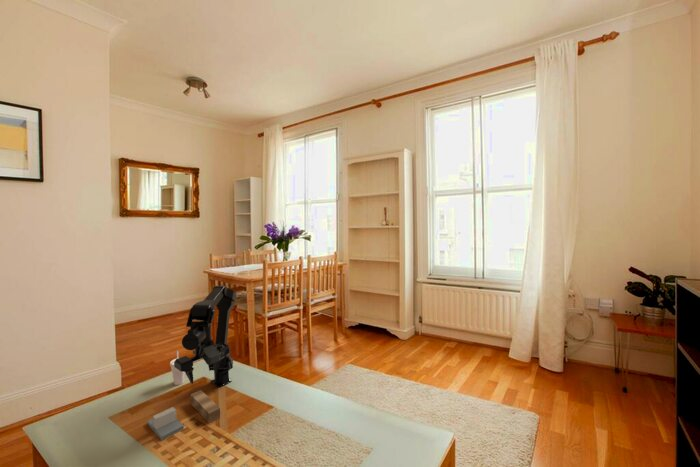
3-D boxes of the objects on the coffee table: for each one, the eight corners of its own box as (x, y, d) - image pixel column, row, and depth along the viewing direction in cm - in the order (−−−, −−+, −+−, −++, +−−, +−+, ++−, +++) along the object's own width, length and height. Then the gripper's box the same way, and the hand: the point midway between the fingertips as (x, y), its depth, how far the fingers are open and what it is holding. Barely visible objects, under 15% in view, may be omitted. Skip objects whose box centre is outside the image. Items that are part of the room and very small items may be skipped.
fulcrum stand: (147, 424, 111) (146, 410, 111) (168, 413, 116) (168, 401, 116) (161, 440, 104) (161, 426, 103) (183, 428, 109) (183, 415, 109)
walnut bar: (190, 404, 123) (190, 394, 122) (201, 399, 126) (201, 389, 125) (209, 423, 112) (208, 413, 112) (220, 418, 115) (219, 408, 115)
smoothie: (182, 376, 141) (182, 346, 140) (190, 381, 137) (189, 350, 136) (167, 383, 136) (166, 351, 135) (175, 388, 132) (174, 356, 131)
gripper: (188, 353, 105) (189, 398, 107) (238, 335, 120) (238, 374, 122) (172, 344, 112) (174, 386, 113) (221, 327, 127) (222, 365, 128)
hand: (204, 377), depth 119 cm, fingers open, 9 cm apart
